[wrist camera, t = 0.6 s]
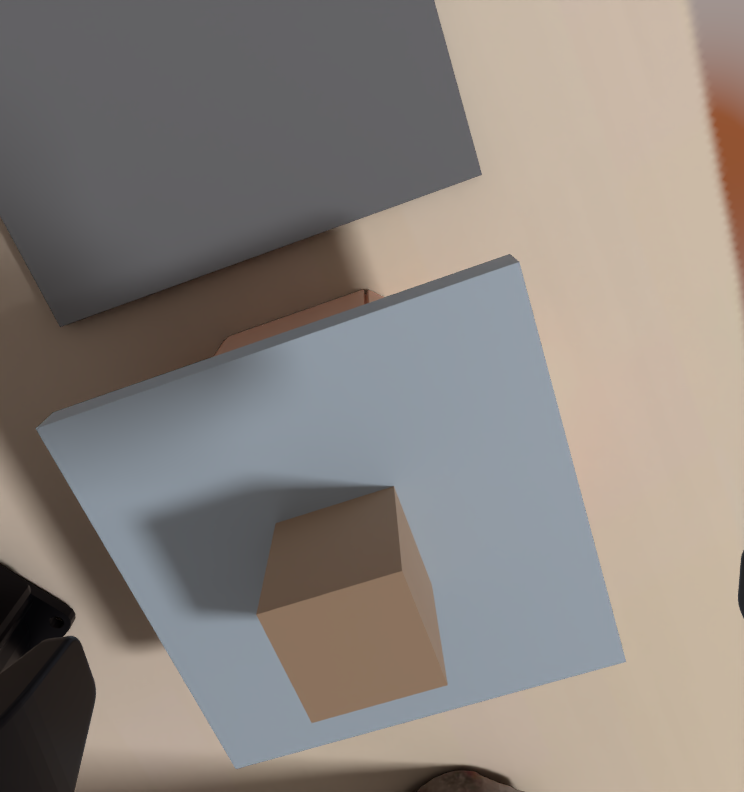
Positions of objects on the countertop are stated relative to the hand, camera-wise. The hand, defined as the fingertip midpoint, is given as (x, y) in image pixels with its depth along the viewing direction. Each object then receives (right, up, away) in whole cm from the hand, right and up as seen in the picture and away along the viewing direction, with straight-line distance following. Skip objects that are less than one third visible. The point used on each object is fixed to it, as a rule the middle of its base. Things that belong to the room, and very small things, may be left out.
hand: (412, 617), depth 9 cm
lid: (-1, -1, +10) cm, 10 cm away
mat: (-6, +13, +8) cm, 16 cm away
